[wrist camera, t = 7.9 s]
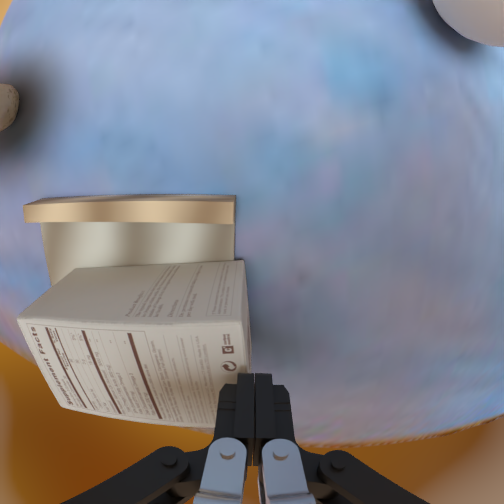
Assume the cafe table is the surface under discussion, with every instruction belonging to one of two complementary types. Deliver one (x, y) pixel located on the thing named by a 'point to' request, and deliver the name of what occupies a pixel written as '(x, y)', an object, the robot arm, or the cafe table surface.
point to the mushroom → (8, 105)
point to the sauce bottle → (475, 19)
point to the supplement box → (143, 340)
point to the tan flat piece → (133, 230)
